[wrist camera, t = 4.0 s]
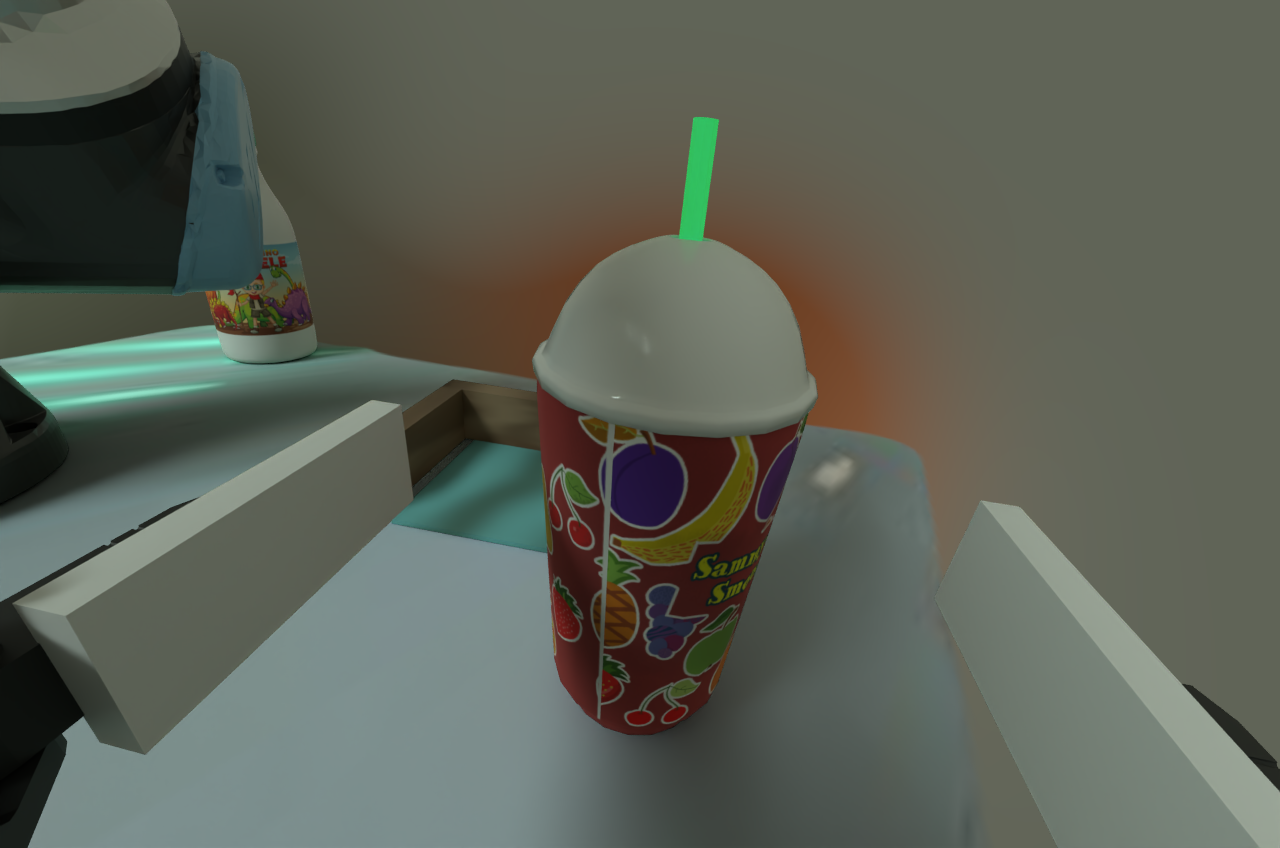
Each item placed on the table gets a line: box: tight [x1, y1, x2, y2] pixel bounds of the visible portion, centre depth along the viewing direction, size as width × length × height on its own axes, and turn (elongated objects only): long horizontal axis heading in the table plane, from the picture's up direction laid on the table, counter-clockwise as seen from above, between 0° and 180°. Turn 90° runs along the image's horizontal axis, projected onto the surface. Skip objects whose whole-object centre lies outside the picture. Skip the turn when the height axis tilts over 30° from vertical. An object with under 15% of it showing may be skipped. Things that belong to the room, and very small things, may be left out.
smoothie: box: [532, 117, 818, 735], centre depth 16 cm, size 8×8×20 cm
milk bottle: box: [205, 133, 317, 363], centre depth 45 cm, size 8×8×20 cm
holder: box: [392, 380, 547, 553], centre depth 32 cm, size 15×12×4 cm
